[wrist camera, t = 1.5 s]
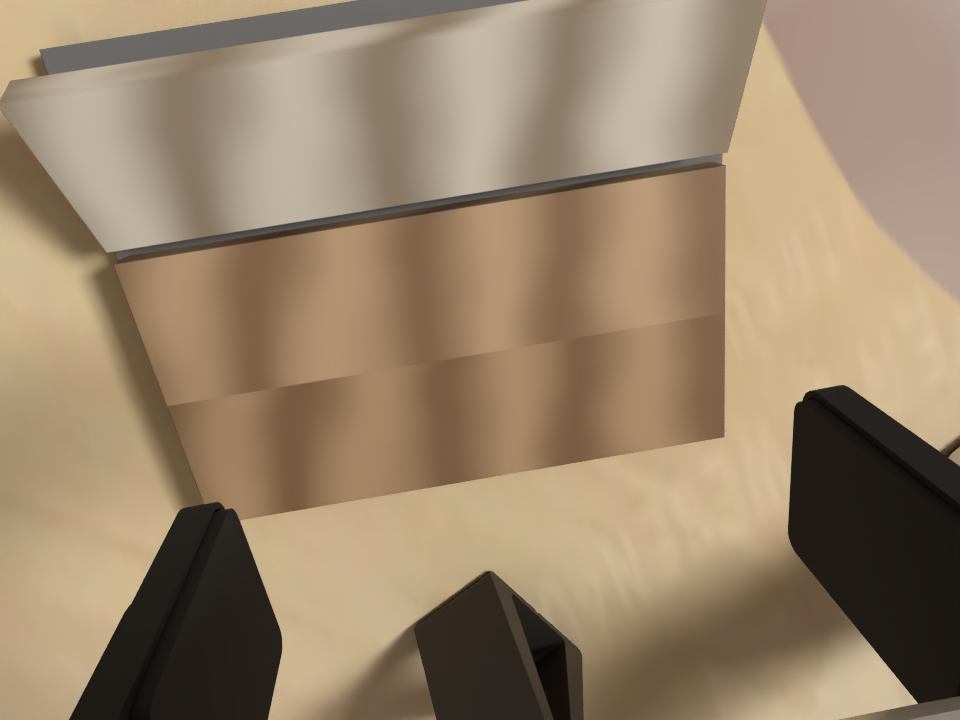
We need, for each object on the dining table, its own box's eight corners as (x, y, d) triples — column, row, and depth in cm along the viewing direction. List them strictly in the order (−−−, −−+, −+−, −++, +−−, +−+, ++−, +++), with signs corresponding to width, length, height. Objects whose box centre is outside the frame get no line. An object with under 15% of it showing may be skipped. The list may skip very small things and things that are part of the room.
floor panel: (712, -52, 27) (739, -64, 25) (713, 417, 36) (733, 440, 34) (52, 50, 26) (17, 48, 24) (217, 501, 35) (203, 531, 33)
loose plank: (754, -35, 23) (771, -16, 22) (714, 131, 29) (727, 152, 28) (10, 81, 23) (-3, 105, 22) (113, 228, 28) (106, 252, 27)
